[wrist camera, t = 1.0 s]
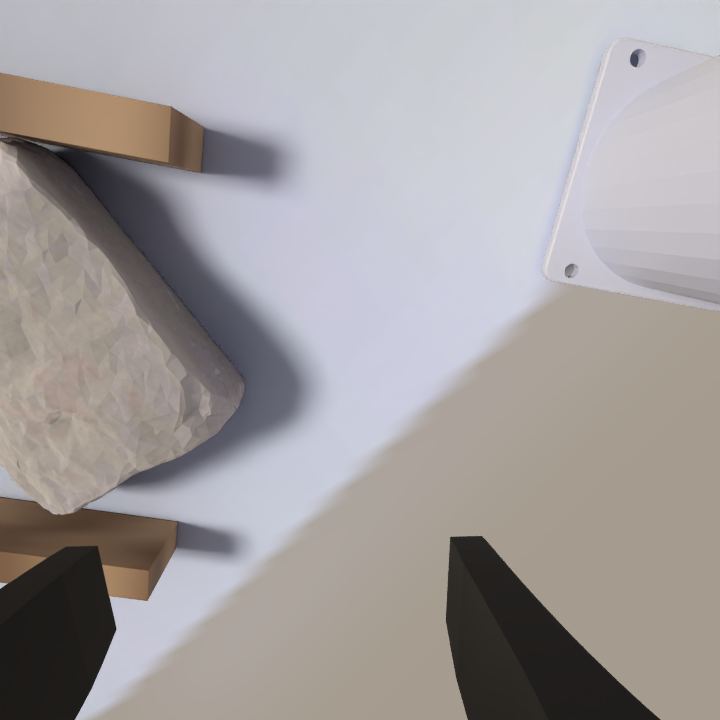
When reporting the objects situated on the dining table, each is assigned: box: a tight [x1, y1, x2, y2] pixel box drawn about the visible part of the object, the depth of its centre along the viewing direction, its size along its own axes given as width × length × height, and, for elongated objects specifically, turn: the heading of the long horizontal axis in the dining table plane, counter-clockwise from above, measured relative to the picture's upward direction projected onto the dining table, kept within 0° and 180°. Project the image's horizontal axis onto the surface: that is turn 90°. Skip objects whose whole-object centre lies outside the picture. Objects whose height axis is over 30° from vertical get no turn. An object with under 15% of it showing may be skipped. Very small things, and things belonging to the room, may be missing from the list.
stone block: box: [0, 137, 245, 515], centre depth 17 cm, size 12×5×10 cm
